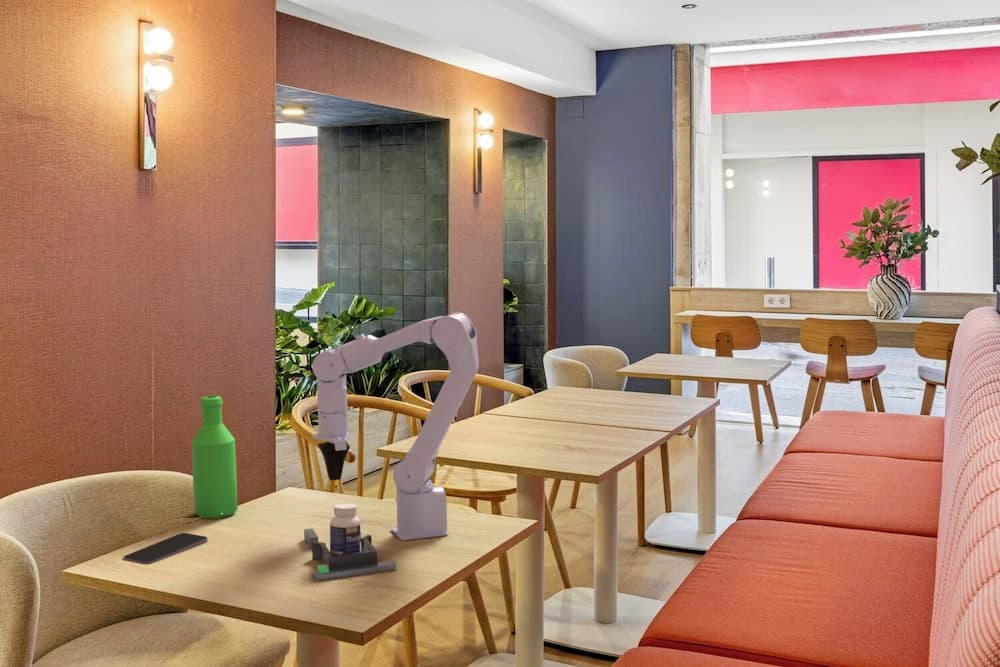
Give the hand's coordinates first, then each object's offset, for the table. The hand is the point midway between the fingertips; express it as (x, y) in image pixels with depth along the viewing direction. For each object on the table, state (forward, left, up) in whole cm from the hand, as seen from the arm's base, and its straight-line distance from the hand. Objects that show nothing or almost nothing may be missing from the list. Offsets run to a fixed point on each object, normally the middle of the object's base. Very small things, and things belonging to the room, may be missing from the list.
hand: (334, 479), depth 192 cm
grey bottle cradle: (+2, +20, -10) cm, 23 cm away
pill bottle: (+2, +18, -10) cm, 21 cm away
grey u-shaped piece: (+2, +6, -10) cm, 12 cm away
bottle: (+21, -22, -11) cm, 32 cm away
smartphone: (+32, -1, -11) cm, 34 cm away
